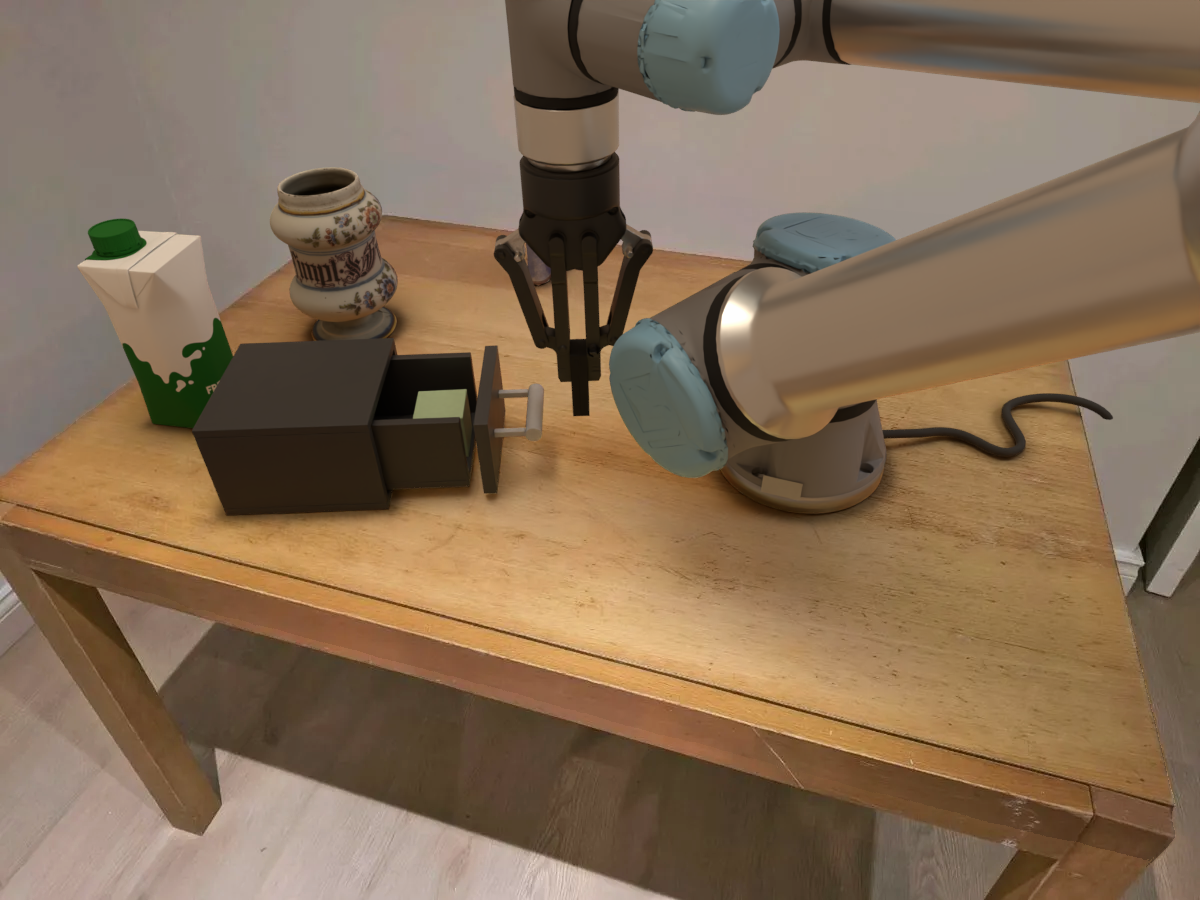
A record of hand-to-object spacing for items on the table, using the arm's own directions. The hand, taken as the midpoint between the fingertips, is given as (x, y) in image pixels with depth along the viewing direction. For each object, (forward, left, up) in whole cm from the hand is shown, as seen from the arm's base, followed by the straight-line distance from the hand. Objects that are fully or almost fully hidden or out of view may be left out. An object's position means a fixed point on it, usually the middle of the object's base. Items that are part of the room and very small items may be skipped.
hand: (581, 407), depth 80 cm
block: (+13, 0, -4) cm, 13 cm away
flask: (+4, -38, -6) cm, 38 cm away
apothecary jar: (+27, -25, -6) cm, 37 cm away
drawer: (+12, 0, -5) cm, 13 cm away
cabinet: (+25, 0, -6) cm, 25 cm away
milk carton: (+40, -10, -6) cm, 41 cm away
